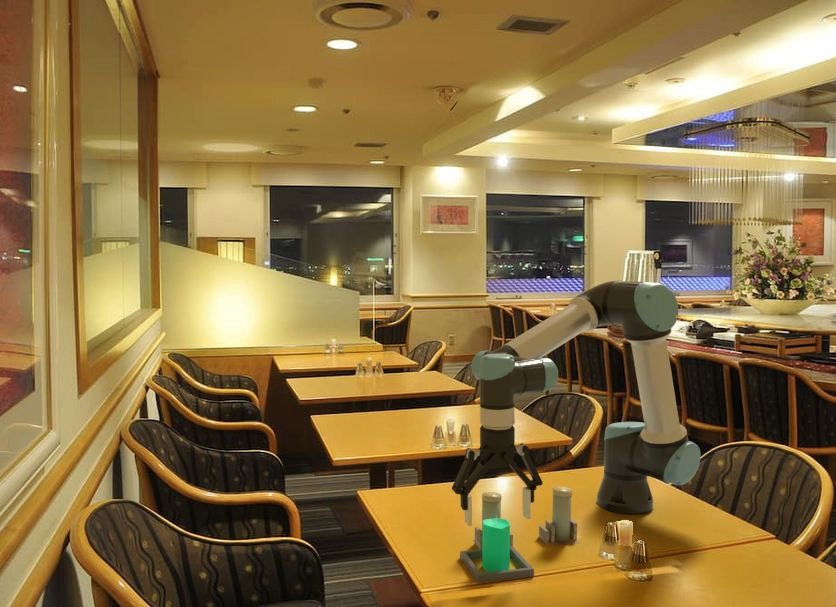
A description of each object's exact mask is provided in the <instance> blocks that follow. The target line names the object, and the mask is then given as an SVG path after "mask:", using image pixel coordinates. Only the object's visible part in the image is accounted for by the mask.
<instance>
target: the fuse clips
mask: <svg viewBox="0 0 836 607" xmlns="http://www.w3.org/2000/svg"><path fill="white" fill-rule="evenodd" d="M538 537H539V539H540V540H542V541H543V542H544V543H545V544H549V543H550V542H551V543H552V544H553V545H554V546H555V547H559V546H567V545H568V546H569V545H574V544H575V545H576V544H581V542H580V541H579V540H578V522H576V521H575V520H573V519H572V518H571V523H570V540H568V541H556V540H555V525H554V524H553V523H552V521H551V520H549V519H545V526H544V525H542V524H541V525H540V524H539V526H538ZM472 542H474V545H475V546H476V547H477V548H478V549H482V542H483V532H482V529H480V528H479V526H475V527H474V539H472ZM510 546H513V547H514V534H513V533H512V532H511V531H510Z"/></svg>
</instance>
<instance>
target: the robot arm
mask: <svg viewBox="0 0 836 607" xmlns="http://www.w3.org/2000/svg"><path fill="white" fill-rule="evenodd" d="M678 315H679V303H678V300H677V297H676V295H675V294H674V292H673V290H672V289H670V287H668V286H666V285H665V284H663V283H658V282H653V281H633V280H632V281H630V280H629V281H626V280H611V281H606V282H603V283H601V284H600V283H599V284H598V285H596V286H593V287H591V288H589V289H587V290H585V291H583V292H581V293H579V294H578V295H576V296H575V297H573V298H572V299H570V300H569V303H568V305H567V306H565V307H564V308H563V309H561V310H559V311H558V312H556V313H555V314H552V315H551V316H550V317H547V318H546V319H544V320H542V321H541V322H539V323H538V324H536V325H534V326H533V327H531V328H530V329H528V330H526V331H525V332H523V333H522V334H519V335H518V336H516V337H515V338H513V339H512V340H510V341H508V342H507V343H505V344H503V345H502V346H499V347H498V348H496V349H495V350H481V351H479V352H477V353H476V354H475V355H474V356H473V358H472V359H471V364H470V365H471V366H470V367H471V368H470V369H471V372H472V375H473V376H474V377H475V379H476V380H478V381H479V382H478V383H479V423H480V425H481V426H480V427H479V448H478V449H472V448H470V447H468V448H466V449H465V456H464V459H463V460H464V461H463V463H462V464H461V466H460V469H459V471H458V473H457V475H456V478H455V480H454V482H453V484H452V486H451V490H452V492H454V494H456V495H460V496H459V497H460V508H461V510H463V511H464V522H465V523H466V525H467V526H468V527H472V526H473V508H472V507H473V498H472V497H473V496H472V495H471V494H470V493H472V491H473V489H474V488H475V486H476V485H477V484H478V482H479V481H480V480H481V478H482V477H483V475H484V474H485V473H487V472H488V471H489V469H491V470H497V469H499V468H500V469H506V468H507V467H508V466H509V467H510V469H511V470H512V471H513V472H514V473H515V474H516V475H517V476H518V478H520V480H521V481H522V482H523V483H524V484H525V485H526V486H523V485H522V516H523V517H524V518H525V519H526V520H531V519H532V518H531V516H532V515H531V513H532V512H531V510H532V509H531V507H532V506H531V504H534V502H535V491H536V490H537V487H539V486H542V485H543V479H542V477H541V476H540V474H539V472H538V470H537V467H535V466H536V465H535V464H534V462H533V460H532V458H531V456H530V448H529V446H528V445H526V443H525V444H524V443H523V442H522V443H520V444H519V445H515V442H516V441H515V440H516V437H515V433H516V432H515V431H516V428H515V427H514V425H515V423H516V421H515V420H516V419H515V418H516V417H515V413H516V412H515V410H516V409H515V404H516V401H515V400H516V397H518V396H523V395H530V394H536V393H543V392H546V391H550V390H552V389H554V388H555V386H556V385H557V384H558V380H559V371H558V367H557V365H556V364H555V362H554V361H553V360H552V359H550V358H548V357H545V356H547V355H548V354H550V353H551V352H553V351H554V350H556V349H557V348H559V347H561V346H563V344H566V343H567V342H569V341H571V340H573V338H575V337H577V336H578V335H579V334H582V333H583V332H591V331H594V330H595V329H596V328H598V327H603V326H615V327H621V330H622V335H623V339H624V340H625V341H627V342H628V343H630V346H631V351H632V357H633V363H634V364H633V365H634V369H635V370H634V371H635V376H636V381H637V387H638V393H639V394H638V395H639V399H640V404H641V411H642V417H643V421H644V422H642V421H641V422H640V421H621V422H613V423H611V424H607V426H606V427H605V430H604V438H603V442H604V443H603V451H604V452H603V478H602V479H601V483H600V486H599V488H598V491H597V494H596V503H597V505H598V506H599V507H600V508H603V509H604V510H608V511H610V512H613V513H618V514H628V515H629V514H631V515H632V514H633V515H639V514H645V513H648V512H651V511H652V510H653V509H654V498H653V494H652V491H651V488H650V485H649V481H648V477H649V478H653V479H655V480H659V481H662V482H664V483H665V484H672V485H676V486H683V485H685V484H687V483H689V482H690V481H691V480H692V479H693V478H694V476H695V475H696V473H697V471H698V469H699V466H700V463H701V449H700V447H699V446H698V445H697V444H696V443H694V442H693V441H691V440H690V441H689V438H688V430H687V428H686V427H685V426H684V425H682V424H681V423H680V418H679V413H678V408H677V407H678V406H677V402H676V393H675V388H674V382H673V381H674V380H673V375H672V373H673V372H672V368H671V363H670V362H671V361H670V356H669V349H668V342H667V338H668V337H669V336H670V335H671V334H672V328H673V327H674V326H675V325H676V323H677V320H678V318H677V317H678ZM516 454H518V455H520V458H521V459H522V461H523V463H524V465H525V467H526V469H527V471H528V473H529V475H530V477H531V478H532V479H530V477H528V476H527V475H526V474H525V472H524V471H523V470H522V469H521V468H520V467H519V465H518V464H517V463H516V462H515V461H514V457H515V456H516ZM478 457H479V458H480V460H479V461H478V463H477V465H476V467H475V468H474V470H473V471H472V473H470V471H471V469H472V467H473V465H474V461H476V460H477V458H478ZM469 474H470V475H469Z"/></svg>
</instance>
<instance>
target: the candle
mask: <svg viewBox="0 0 836 607" xmlns="http://www.w3.org/2000/svg"><path fill="white" fill-rule="evenodd" d="M510 532H511V523H510V521H509V520H508V519H505V518H502V517H501V518H497V516H496V518H493V519H485V520H483V542H482V558H481V560H482V564H481V566H482V569H483V570H484V571H486V572H494V571H503V570H510V567H511V566H510V564H511V563H510V561H511V560H510V557H511V556H510Z"/></svg>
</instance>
